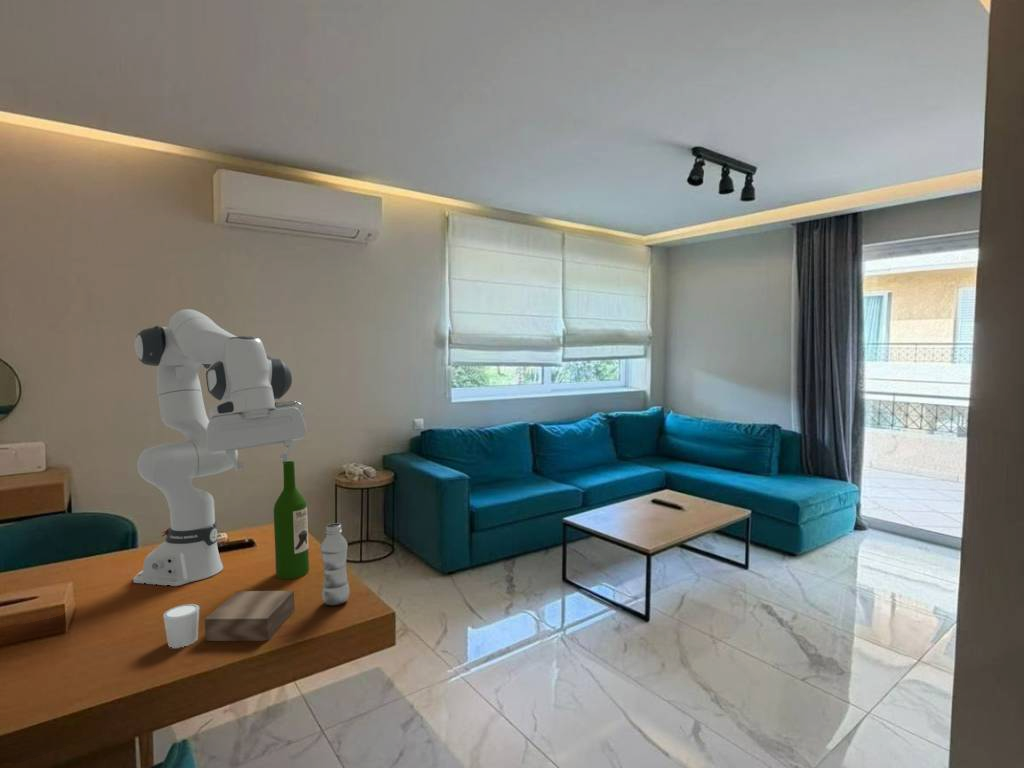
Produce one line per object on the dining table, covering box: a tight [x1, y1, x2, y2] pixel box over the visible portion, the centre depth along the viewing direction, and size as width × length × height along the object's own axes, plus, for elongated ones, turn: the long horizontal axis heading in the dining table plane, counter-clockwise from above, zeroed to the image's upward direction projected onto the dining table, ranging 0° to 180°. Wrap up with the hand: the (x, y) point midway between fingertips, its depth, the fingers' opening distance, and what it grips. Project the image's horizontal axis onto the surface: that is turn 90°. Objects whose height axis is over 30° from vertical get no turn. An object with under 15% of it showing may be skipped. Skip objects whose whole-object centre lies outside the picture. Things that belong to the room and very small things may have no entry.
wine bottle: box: [273, 460, 310, 580], centre depth 155 cm, size 9×9×32 cm
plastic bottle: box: [320, 522, 350, 606], centre depth 136 cm, size 6×7×20 cm
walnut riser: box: [204, 590, 295, 642], centre depth 126 cm, size 14×14×5 cm
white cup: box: [163, 603, 200, 649], centre depth 119 cm, size 7×7×7 cm
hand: (263, 466), depth 118 cm, fingers open, 8 cm apart
